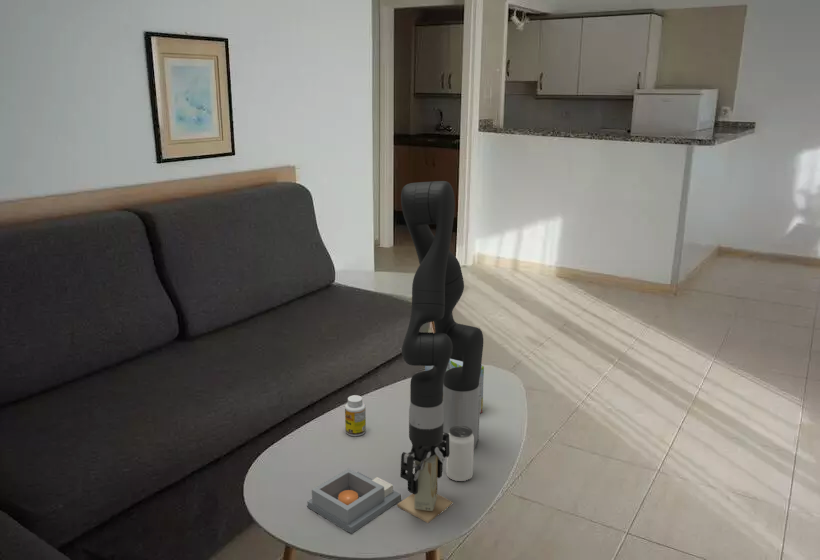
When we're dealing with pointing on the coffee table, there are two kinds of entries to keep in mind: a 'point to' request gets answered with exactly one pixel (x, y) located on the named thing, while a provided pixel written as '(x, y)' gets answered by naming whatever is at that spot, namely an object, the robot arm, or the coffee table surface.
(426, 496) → the skincare box
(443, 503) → the cork coaster
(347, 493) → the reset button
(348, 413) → the supplement bottle
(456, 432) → the can
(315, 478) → the coffee table surface
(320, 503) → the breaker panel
